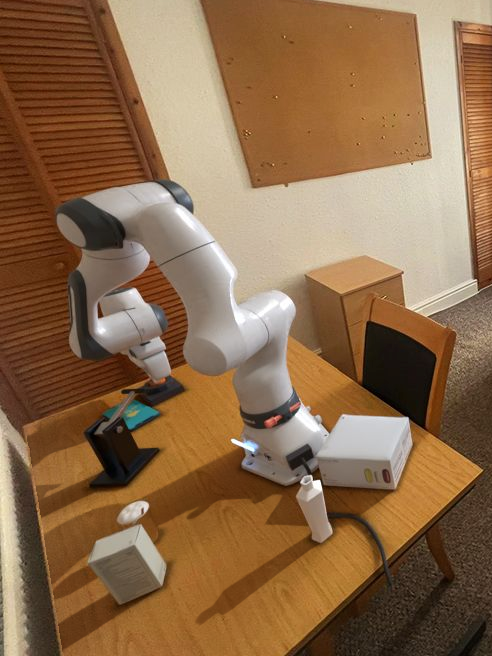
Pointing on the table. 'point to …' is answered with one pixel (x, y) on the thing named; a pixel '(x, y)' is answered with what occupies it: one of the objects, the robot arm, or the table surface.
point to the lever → (120, 409)
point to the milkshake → (139, 518)
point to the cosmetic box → (128, 564)
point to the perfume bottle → (314, 508)
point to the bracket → (117, 454)
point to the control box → (162, 391)
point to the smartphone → (134, 414)
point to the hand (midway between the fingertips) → (156, 380)
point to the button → (157, 382)
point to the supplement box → (365, 452)
